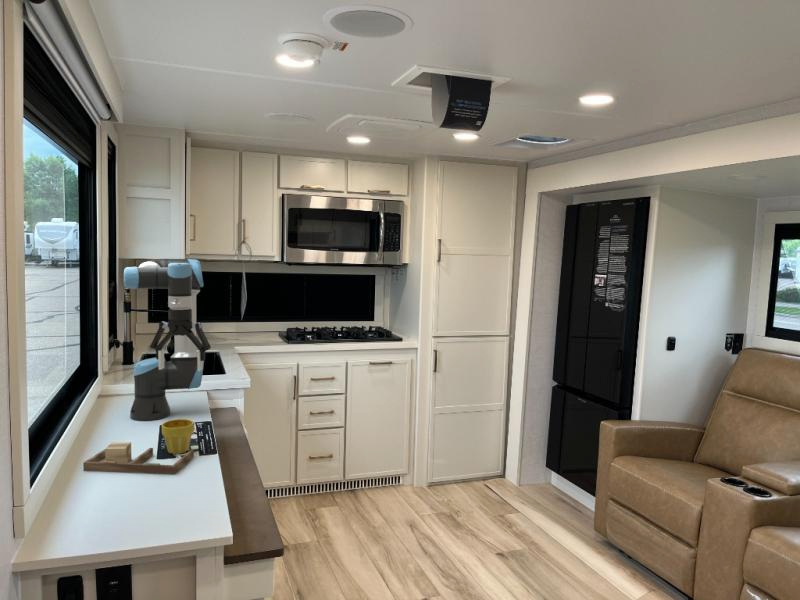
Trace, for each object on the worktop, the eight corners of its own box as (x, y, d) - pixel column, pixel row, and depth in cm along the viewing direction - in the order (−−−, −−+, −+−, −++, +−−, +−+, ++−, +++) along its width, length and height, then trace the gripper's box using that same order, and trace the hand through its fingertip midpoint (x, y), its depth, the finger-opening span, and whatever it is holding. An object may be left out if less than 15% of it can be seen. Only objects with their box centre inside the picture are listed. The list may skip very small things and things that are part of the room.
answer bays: (109, 453, 197) (109, 444, 197) (193, 456, 196) (193, 448, 196) (83, 470, 182) (83, 461, 182) (174, 474, 181) (174, 465, 181)
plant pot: (183, 457, 195) (183, 429, 194) (155, 454, 197) (155, 426, 196) (200, 447, 205) (199, 420, 204) (173, 444, 207) (173, 417, 206)
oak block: (112, 460, 192) (111, 442, 191) (131, 459, 192) (131, 442, 192) (105, 467, 186) (105, 448, 185) (125, 466, 186) (125, 448, 186)
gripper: (139, 308, 196) (140, 370, 198) (212, 310, 195) (212, 373, 197) (149, 305, 204) (150, 365, 206) (220, 308, 203) (220, 368, 205)
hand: (180, 369), depth 201 cm, fingers open, 13 cm apart
